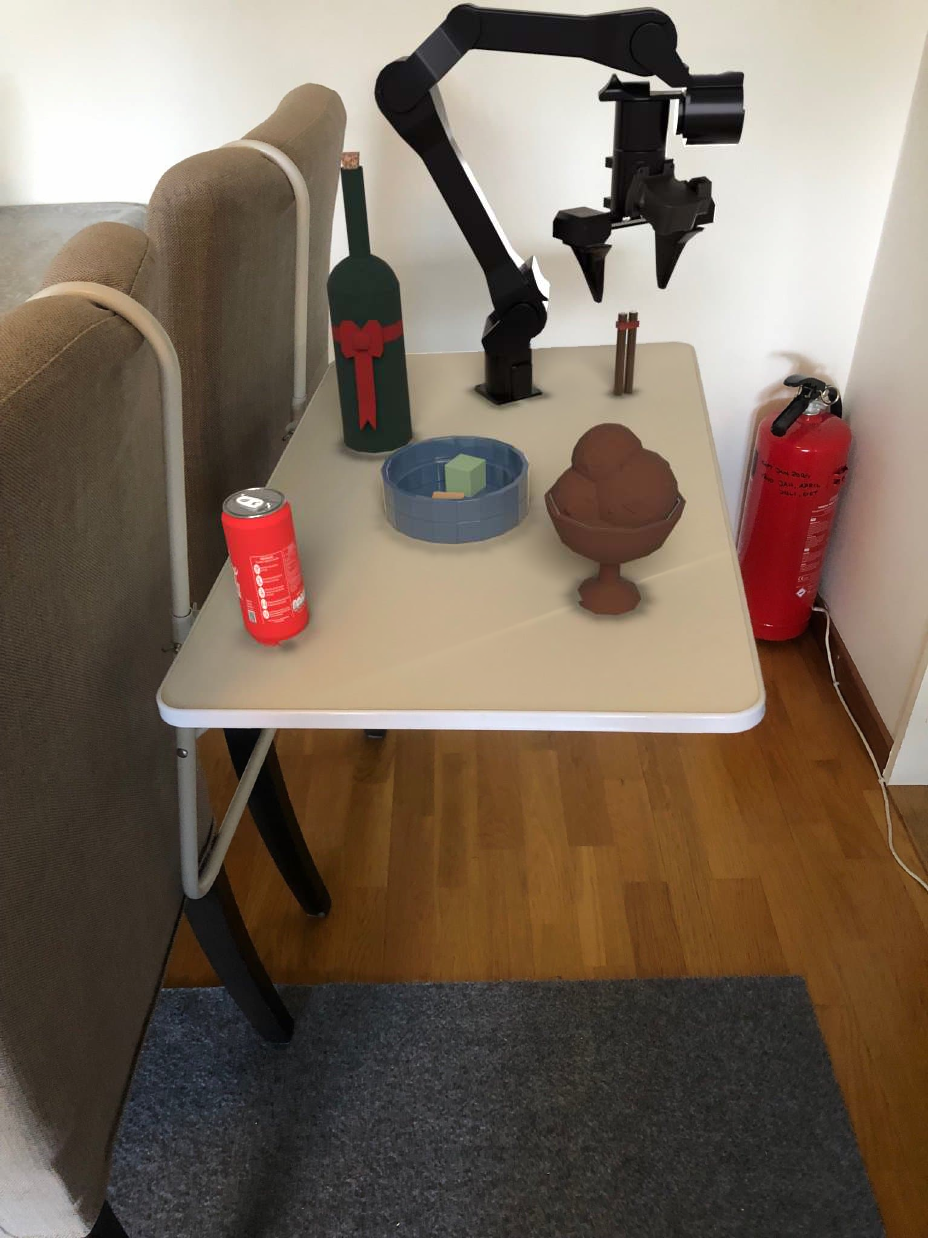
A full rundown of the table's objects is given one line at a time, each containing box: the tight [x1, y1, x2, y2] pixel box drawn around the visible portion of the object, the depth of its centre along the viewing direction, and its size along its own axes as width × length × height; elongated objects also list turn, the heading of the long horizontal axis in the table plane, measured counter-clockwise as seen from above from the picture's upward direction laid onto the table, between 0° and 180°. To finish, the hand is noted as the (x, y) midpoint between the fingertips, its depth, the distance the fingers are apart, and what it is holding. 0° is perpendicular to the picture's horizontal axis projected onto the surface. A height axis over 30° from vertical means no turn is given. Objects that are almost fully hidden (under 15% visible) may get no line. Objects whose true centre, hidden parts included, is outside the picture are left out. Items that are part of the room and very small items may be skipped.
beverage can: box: [221, 486, 309, 647], centre depth 73 cm, size 5×5×12 cm
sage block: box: [445, 454, 486, 497], centre depth 93 cm, size 3×3×3 cm
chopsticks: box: [613, 309, 641, 396], centre depth 112 cm, size 1×3×10 cm, turn 110°
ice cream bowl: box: [543, 422, 687, 616], centre depth 74 cm, size 11×11×15 cm
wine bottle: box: [326, 151, 413, 454], centre depth 96 cm, size 8×10×30 cm
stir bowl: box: [380, 435, 530, 544], centre depth 90 cm, size 14×14×5 cm
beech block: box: [432, 492, 465, 499], centre depth 87 cm, size 3×3×3 cm
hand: (630, 295), depth 108 cm, fingers open, 9 cm apart
